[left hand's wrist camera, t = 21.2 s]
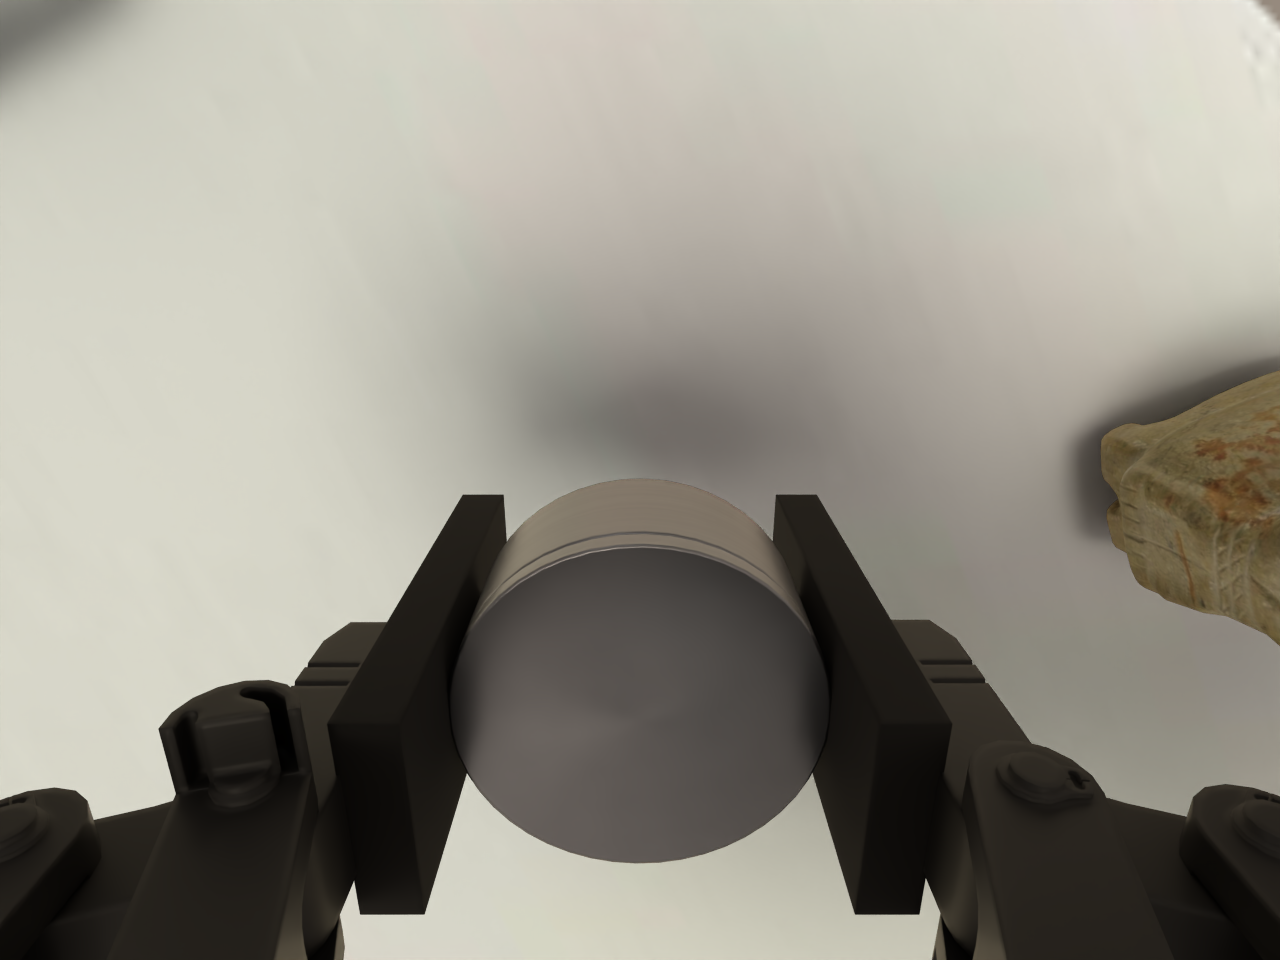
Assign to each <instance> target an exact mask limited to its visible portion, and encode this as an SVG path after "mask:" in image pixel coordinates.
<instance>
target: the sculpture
mask: <svg viewBox="0 0 1280 960" xmlns="http://www.w3.org/2000/svg"><path fill="white" fill-rule="evenodd" d="M1101 471H1102V475H1103V478H1104V480H1105V481H1106V482H1107V483H1108V484H1109V485H1110V486H1111V487H1112V489H1113V490H1114V491H1115V493H1116V495H1117V497H1118V499H1117V500H1116V501H1115V502H1114V503H1113V504H1112V505H1111V506H1110V507H1109V508H1108V509H1107V522H1108V527H1109V530H1110V534H1111V538H1112V542H1113V544H1114V545H1115V547H1117V548H1118V549H1120V550H1122V551H1124V552H1126V553H1127V555H1128V559H1129V563H1130V567H1131V570H1132V572H1133V574H1134V577H1135V579H1136V580H1137V581H1138V583H1139V584H1140V585H1142V586H1143V587H1145V588H1147V589H1149V590H1151V591H1154V592H1156V593H1159V594H1160V595H1161V596H1162V597H1163V598H1164V599H1166V600H1167V601H1170V602H1173V603H1176V604H1179V605H1182V606H1185V607H1188V608H1191V609H1194V610H1197V611H1200V612H1203V613H1208V614H1215V615H1222V616H1228V617H1230V618H1232V619H1234V620H1237V621H1239V622H1241V623H1243V624H1245V625H1247V626H1250V627H1252V628H1254V629H1256V630H1258V631H1260V632H1263V633H1265V634H1267V635H1268V636H1269V637H1270V638H1271V639H1272V640H1274V641H1275V642H1276V643H1277V644H1278V645H1279V646H1280V371H1276V372H1272V373H1269V374H1266V375H1264V376H1261V377H1258V378H1256V379H1253V380H1250V381H1248V382H1245V383H1242V384H1240V385H1238V386H1236V387H1234V388H1231V389H1229V390H1227V391H1225V392H1222V393H1220V394H1218V395H1216V396H1214V397H1212V398H1210V399H1208V400H1206V401H1204V402H1202V403H1200V404H1199V405H1197V406H1195V407H1193V408H1191V409H1189V410H1187V411H1185V412H1183V413H1181V414H1179V415H1177V416H1175V417H1173V418H1170V419H1167V420H1164V421H1160V422H1156V423H1152V424H1148V425H1139V424H1135V423H1129V424H1124V425H1122V426H1119V427H1117V428H1115V429H1113V430H1111V431H1109V432H1108V433H1107V434H1106V435H1104V437H1103V438H1102V441H1101Z"/></svg>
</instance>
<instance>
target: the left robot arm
mask: <svg viewBox="0 0 1280 960" xmlns="http://www.w3.org/2000/svg"><path fill="white" fill-rule="evenodd" d="M506 543H507V539H506V524H505V509H504V495H462V497H461V499H460V500H459V502H458V504H457V506H456V507H455V509H454V511H453V512H452V514H451V516H450V517H449V519H448V521H447V522H446V524H445V526H444V527H443V529H442V531H441V532H440V534H439V536H438V538H437V539H436V541H435V543H434V544H433V546H432V548H431V549H430V551H429V553H428V554H427V556H426V558H425V559H424V561H423V563H422V564H421V566H420V568H419V569H418V571H417V573H416V575H415V576H414V578H413V580H412V581H411V583H410V585H409V586H408V588H407V590H406V591H405V593H404V595H403V596H402V598H401V600H400V601H399V603H398V605H397V607H396V608H395V610H394V612H393V613H392V615H391V617H390V618H389V620H388V622H350V623H349V624H348V625H346V626H345V627H343V628H342V629H340V630H339V631H337V632H336V633H335V634H333V635H332V636H330V637H329V638H327V639H326V640H324V641H323V643H322V644H321V645H320V647H319V648H318V650H317V651H316V652H315V654H314V655H313V657H312V658H311V660H310V661H309V662H308V667H305V668H304V669H303V671H302V672H301V674H300V675H299V676H298V678H297V679H296V681H295V686H291V688H290V687H289V686H288V685H287V684H282V683H278V682H274V681H270V680H257V681H242V682H238V683H234V684H229V685H225V686H221V687H217V688H215V689H213V690H210V691H208V692H206V693H203V694H201V695H199V696H196V697H194V698H192V699H191V700H189V701H188V702H186V703H185V704H184V705H182V706H181V707H179V708H178V709H176V710H175V711H173V712H172V713H171V714H170V715H169V717H168V718H167V719H166V720H165V722H164V723H163V724H162V725H161V726H160V728H159V733H160V736H161V740H162V744H163V748H164V751H165V755H166V759H167V762H168V766H169V770H170V773H171V777H172V781H173V785H174V788H175V792H176V795H175V798H174V800H173V801H171V802H168V803H164V804H161V805H158V806H154V807H150V808H145V809H141V810H136V811H132V812H128V813H123V814H119V815H114V816H110V817H105V818H101V819H97V820H93V817H92V814H91V811H90V808H89V804H88V801H87V800H86V799H85V798H84V797H82V796H81V795H80V794H79V793H78V792H77V791H74V790H67V789H61V788H48V789H41V790H33V791H27V792H24V793H21V794H18V795H14V796H12V797H7V798H5V799H2V800H0V960H343V958H344V949H345V945H344V938H343V930H342V925H341V919H340V913H341V911H342V908H343V906H344V903H345V901H346V899H347V896H348V894H349V891H350V889H351V887H352V884H353V882H355V887H356V893H357V899H358V905H359V910H360V915H407V914H425V911H426V908H427V905H428V901H429V898H430V894H431V891H432V888H433V884H434V881H435V878H436V874H437V871H438V868H439V864H440V861H441V858H442V854H443V851H444V848H445V844H446V841H447V838H448V834H449V831H450V828H451V824H452V821H453V818H454V814H455V811H456V808H457V804H458V801H459V798H460V794H461V791H462V788H463V784H464V781H465V778H466V774H467V772H466V770H465V768H464V766H463V764H462V762H461V760H460V758H459V755H458V753H457V749H456V746H455V743H454V740H453V737H452V733H451V726H450V717H449V703H448V691H449V685H450V679H451V672H452V669H453V666H454V663H455V660H456V656H457V653H458V650H459V648H460V645H461V643H462V640H463V638H464V636H465V633H466V630H467V628H468V625H469V623H470V620H471V618H472V615H473V613H474V610H475V608H476V605H477V603H478V600H479V598H480V595H481V593H482V590H483V588H484V585H485V583H486V580H487V578H488V575H489V573H490V570H491V568H492V566H493V564H494V562H495V560H496V558H497V556H498V554H499V553H500V551H501V550H502V548H503V547H504V545H505V544H506ZM773 543H774V544H775V546H776V548H777V549H778V551H779V552H780V554H781V555H782V557H783V559H784V561H785V563H786V565H787V568H788V570H789V572H790V574H791V577H792V579H793V582H794V584H795V587H796V589H797V592H798V594H799V597H800V599H801V602H802V604H803V607H804V609H805V612H806V614H807V617H808V619H809V622H810V624H811V627H812V629H813V632H814V634H815V637H816V639H817V642H818V644H819V647H820V649H821V652H822V654H823V656H824V660H825V663H826V667H827V671H828V675H829V679H830V688H831V711H830V721H829V729H828V734H827V739H826V743H825V745H824V748H823V751H822V753H821V756H820V759H819V761H818V763H817V765H816V767H815V769H814V770H813V772H812V773H813V776H814V779H815V783H816V786H817V789H818V793H819V796H820V799H821V803H822V806H823V809H824V813H825V816H826V819H827V823H828V826H829V829H830V833H831V836H832V839H833V843H834V846H835V849H836V853H837V856H838V859H839V863H840V866H841V869H842V873H843V876H844V879H845V883H846V886H847V889H848V893H849V896H850V899H851V903H852V906H853V909H854V913H855V915H919V913H920V908H921V902H922V896H923V890H924V885H925V879H927V882H928V884H929V886H930V889H931V891H932V894H933V896H934V898H935V901H936V903H937V905H938V908H939V910H940V913H941V914H940V919H939V925H938V930H937V935H936V941H935V946H934V951H933V957H932V960H1280V796H1277V795H1274V794H1270V793H1268V792H1265V791H1261V790H1258V789H1255V788H1250V787H1243V786H1236V785H1228V784H1223V785H1217V786H1210V787H1205V788H1203V789H1202V790H1201V791H1200V792H1199V793H1197V794H1196V795H1195V796H1194V797H1193V799H1192V802H1191V805H1190V809H1189V812H1188V815H1187V817H1185V816H1180V815H1176V814H1172V813H1167V812H1163V811H1158V810H1154V809H1149V808H1145V807H1140V806H1136V805H1131V804H1127V803H1123V802H1120V801H1116V800H1113V799H1110V798H1106V796H1105V794H1104V792H1103V791H1102V789H1101V788H1100V786H1099V785H1098V784H1097V782H1096V781H1095V779H1094V778H1093V776H1092V775H1091V774H1089V773H1088V772H1087V771H1086V770H1084V769H1083V768H1082V767H1080V766H1079V765H1078V764H1077V763H1075V762H1074V761H1073V760H1071V759H1069V758H1067V757H1065V756H1063V755H1061V754H1059V753H1057V752H1055V751H1053V750H1051V749H1049V748H1046V747H1043V746H1039V745H1035V744H1031V742H1030V741H1029V739H1028V738H1027V737H1026V735H1025V734H1024V732H1023V731H1022V730H1021V728H1020V727H1019V725H1018V724H1017V723H1016V721H1015V720H1014V718H1013V717H1012V716H1011V714H1010V713H1009V711H1008V710H1007V709H1006V707H1005V706H1004V704H1003V703H1002V702H1001V700H1000V699H999V697H998V696H997V695H996V693H995V692H994V691H993V689H992V688H991V686H990V685H989V684H988V683H985V678H984V677H983V675H982V674H981V672H980V671H979V670H978V668H977V667H976V665H972V660H971V658H970V657H969V656H968V654H967V653H966V651H965V650H964V649H963V647H962V646H961V644H960V643H959V642H958V640H957V639H956V638H955V637H953V636H952V635H950V634H949V633H947V632H946V631H945V630H943V629H942V628H940V627H939V626H937V625H936V624H934V623H933V622H931V621H930V620H891V619H890V617H889V616H888V614H887V612H886V611H885V609H884V607H883V606H882V604H881V602H880V601H879V599H878V597H877V596H876V594H875V592H874V591H873V589H872V587H871V586H870V584H869V582H868V580H867V579H866V577H865V575H864V574H863V572H862V570H861V569H860V567H859V565H858V564H857V562H856V560H855V559H854V557H853V555H852V554H851V552H850V550H849V548H848V547H847V545H846V543H845V542H844V540H843V538H842V537H841V535H840V533H839V532H838V530H837V528H836V527H835V525H834V523H833V522H832V520H831V518H830V516H829V515H828V513H827V511H826V510H825V508H824V506H823V505H822V503H821V501H820V500H819V498H818V496H817V495H776V502H775V517H774V531H773Z"/></svg>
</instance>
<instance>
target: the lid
mask: <svg viewBox="0 0 1280 960" xmlns="http://www.w3.org/2000/svg"><path fill="white" fill-rule="evenodd" d="M448 703H449V717H450V726H451V733H452V737H453V740H454V743H455V746H456V749H457V753H458V755H459V758H460V760H461V762H462V764H463V766H464V768H465V770H466V772H467V774H468V775H469V777H470V778H471V780H472V781H473V783H474V784H475V786H476V787H477V788H478V790H479V791H480V792H481V794H482V795H483V796H484V797H485V798H486V799H487V800H488V801H489V803H490V804H491V805H492V806H493V807H494V808H495V809H496V810H498V811H499V812H500V813H501V814H502V815H503V816H504V817H506V818H507V819H508V820H509V821H510V822H512V823H513V824H515V825H516V826H518V827H519V828H521V829H522V830H524V831H525V832H527V833H528V834H530V835H532V836H534V837H536V838H538V839H539V840H541V841H543V842H545V843H547V844H549V845H552V846H555V847H557V848H560V849H562V850H565V851H567V852H570V853H574V854H578V855H581V856H585V857H589V858H593V859H599V860H605V861H611V862H623V863H659V862H667V861H674V860H682V859H686V858H690V857H694V856H698V855H703V854H706V853H709V852H711V851H714V850H717V849H720V848H723V847H725V846H728V845H730V844H732V843H734V842H736V841H738V840H740V839H742V838H744V837H746V836H748V835H749V834H751V833H753V832H754V831H756V830H757V829H759V828H761V827H762V826H764V825H765V824H766V823H768V822H769V821H770V820H771V819H773V818H774V817H775V816H776V815H778V814H779V813H780V812H781V811H782V810H783V809H784V808H785V807H786V806H787V805H788V804H789V803H790V802H791V801H792V800H793V799H794V798H795V797H796V796H797V794H798V793H799V792H800V790H801V789H802V788H803V786H804V785H805V784H806V782H807V781H808V780H809V778H810V776H811V774H812V772H813V770H814V769H815V767H816V765H817V763H818V761H819V759H820V756H821V753H822V751H823V748H824V745H825V743H826V739H827V734H828V729H829V721H830V711H831V688H830V679H829V675H828V671H827V667H826V663H825V660H824V656H823V654H822V652H821V649H820V647H819V644H818V642H817V639H816V637H815V634H814V632H813V629H812V627H811V624H810V622H809V619H808V617H807V614H806V612H805V609H804V607H803V604H802V602H801V599H800V597H799V594H798V592H797V589H796V587H795V584H794V582H793V579H792V577H791V574H790V572H789V570H788V568H787V565H786V563H785V561H784V559H783V557H782V555H781V554H780V552H779V551H778V549H777V548H776V546H775V544H774V543H773V541H772V540H771V539H770V538H769V537H768V536H767V534H766V533H765V532H764V531H763V530H762V529H761V527H760V526H759V525H757V524H756V523H755V522H754V521H753V520H752V519H751V518H750V517H748V516H747V515H746V514H745V513H744V512H742V511H741V510H739V509H738V508H736V507H735V506H733V505H732V504H730V503H729V502H727V501H725V500H723V499H721V498H719V497H717V496H715V495H713V494H711V493H709V492H706V491H703V490H701V489H698V488H695V487H692V486H689V485H685V484H680V483H676V482H671V481H666V480H654V479H623V480H615V481H609V482H603V483H598V484H595V485H592V486H588V487H585V488H581V489H578V490H576V491H574V492H571V493H569V494H567V495H565V496H562V497H560V498H558V499H556V500H555V501H553V502H551V503H550V504H548V505H546V506H545V507H543V508H541V509H540V510H539V511H537V512H536V513H535V514H534V515H533V516H531V517H530V518H529V519H528V520H526V521H525V522H524V523H523V524H522V525H521V526H520V527H519V528H518V529H517V530H516V532H515V533H514V534H513V535H512V536H511V537H510V538H509V540H508V541H507V543H506V544H505V545H504V547H503V548H502V550H501V551H500V553H499V554H498V556H497V558H496V560H495V562H494V564H493V566H492V568H491V570H490V573H489V575H488V578H487V580H486V583H485V585H484V588H483V590H482V593H481V595H480V598H479V600H478V603H477V605H476V608H475V610H474V613H473V615H472V618H471V620H470V623H469V625H468V628H467V630H466V633H465V636H464V638H463V640H462V643H461V645H460V648H459V650H458V653H457V656H456V660H455V663H454V666H453V669H452V672H451V679H450V685H449V691H448Z"/></svg>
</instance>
